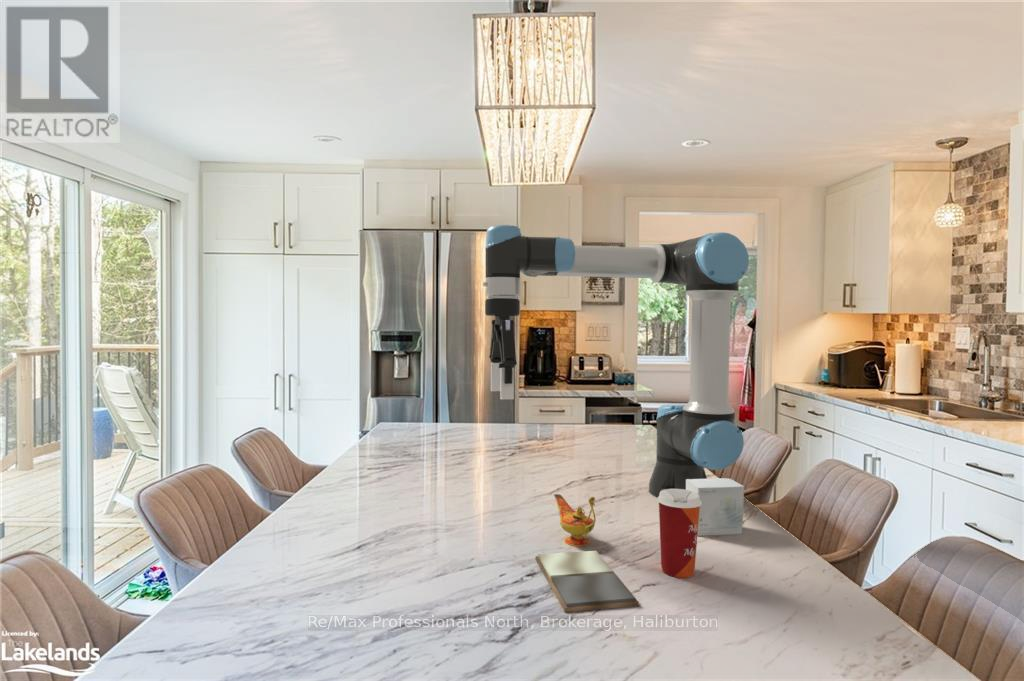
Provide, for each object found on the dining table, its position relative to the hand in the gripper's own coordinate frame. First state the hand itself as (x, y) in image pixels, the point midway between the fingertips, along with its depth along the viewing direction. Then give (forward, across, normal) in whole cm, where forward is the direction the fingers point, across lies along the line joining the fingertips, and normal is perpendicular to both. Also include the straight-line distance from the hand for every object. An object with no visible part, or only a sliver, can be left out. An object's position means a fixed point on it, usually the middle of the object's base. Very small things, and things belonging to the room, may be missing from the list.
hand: (501, 395), depth 130 cm
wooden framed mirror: (+28, +32, +9) cm, 43 cm away
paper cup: (+28, +30, +27) cm, 50 cm away
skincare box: (+28, +12, +44) cm, 54 cm away
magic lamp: (+28, +12, +13) cm, 33 cm away
